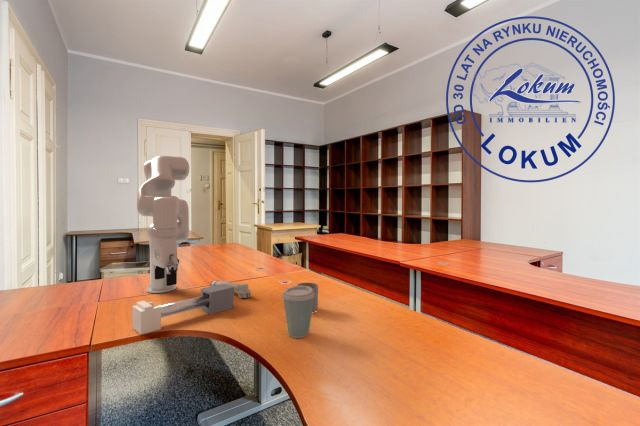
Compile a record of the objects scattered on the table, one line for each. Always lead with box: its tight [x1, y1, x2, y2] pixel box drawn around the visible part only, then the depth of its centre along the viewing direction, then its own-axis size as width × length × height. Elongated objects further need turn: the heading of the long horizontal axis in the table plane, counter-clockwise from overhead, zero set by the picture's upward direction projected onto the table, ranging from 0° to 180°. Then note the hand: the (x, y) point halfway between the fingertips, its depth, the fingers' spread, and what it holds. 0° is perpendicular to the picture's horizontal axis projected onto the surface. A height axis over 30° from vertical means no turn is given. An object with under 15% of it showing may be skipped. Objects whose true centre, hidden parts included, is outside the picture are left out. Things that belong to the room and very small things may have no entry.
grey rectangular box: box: [200, 284, 235, 315], centre depth 125 cm, size 7×10×8 cm
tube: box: [153, 295, 209, 319], centre depth 113 cm, size 4×22×4 cm, turn 138°
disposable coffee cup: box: [281, 285, 314, 339], centre depth 103 cm, size 11×11×15 cm
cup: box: [296, 282, 319, 312], centre depth 125 cm, size 8×8×10 cm
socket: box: [132, 300, 162, 335], centre depth 105 cm, size 8×6×8 cm
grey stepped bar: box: [209, 280, 252, 299], centre depth 145 cm, size 5×7×25 cm
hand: (165, 281), depth 110 cm, fingers open, 9 cm apart
